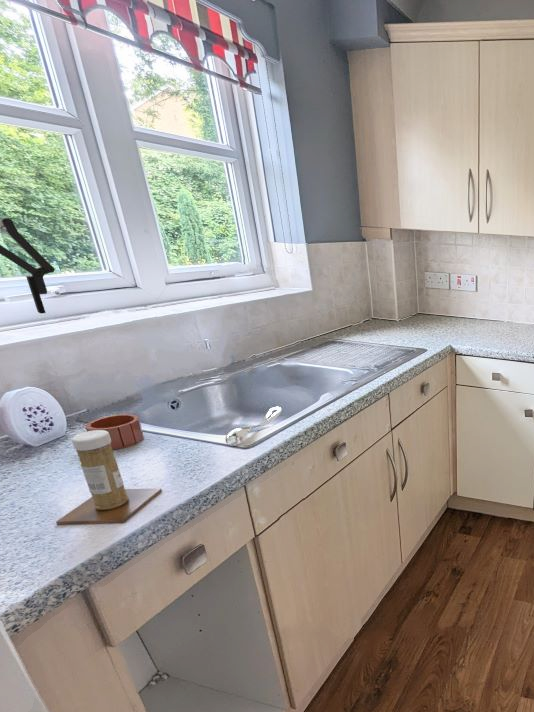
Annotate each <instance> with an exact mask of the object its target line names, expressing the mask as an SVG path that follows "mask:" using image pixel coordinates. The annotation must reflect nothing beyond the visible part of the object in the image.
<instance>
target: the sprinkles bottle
mask: <svg viewBox="0 0 534 712" xmlns="http://www.w3.org/2000/svg"><path fill="white" fill-rule="evenodd" d="M71 443H72V446H73V449H74V450H75V451H76V453H77V456H78V459H79V463H80V466H81V470H82V473H83V475H84V478H85V482H86V484H87V487H88V491H89V493H90V494H91V497H93V500H94V503H95V505H94V506H95V508H96V509H98V510H108V509H113V508H116V507H119V506H121V505H123V504H124V503H126V502H127V501H128V496H127V494H126V491H125V489H126V488H125V485H124V481H123V478H122V474H121V471H120V469H119V465H118V462H117V460H116V457H115V454H114V450H112V447H111V438H110V435H109V433H108V432H107V431H104V430H94V431H88V432H87V431H85V432H80V433H78V434H76V435H74V436H73V437H72V438H71Z"/></svg>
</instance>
